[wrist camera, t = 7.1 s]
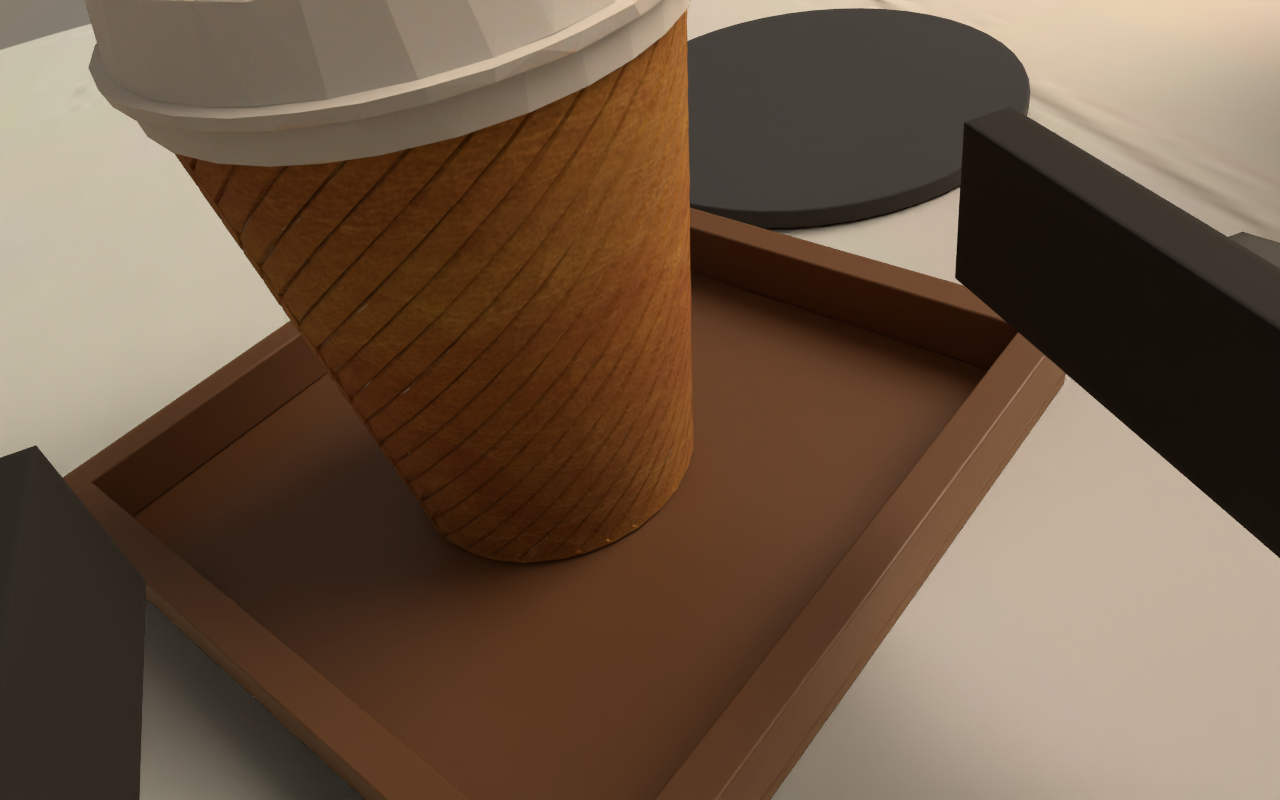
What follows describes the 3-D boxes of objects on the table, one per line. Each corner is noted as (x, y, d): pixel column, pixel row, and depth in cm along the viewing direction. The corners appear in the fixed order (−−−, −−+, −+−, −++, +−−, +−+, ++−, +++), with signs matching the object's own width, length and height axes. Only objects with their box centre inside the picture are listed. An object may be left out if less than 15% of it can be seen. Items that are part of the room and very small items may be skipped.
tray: (87, 544, 23) (41, 490, 22) (537, 212, 31) (522, 158, 30) (611, 1026, 14) (584, 981, 13) (1064, 383, 22) (1075, 316, 21)
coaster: (515, 169, 34) (510, 153, 33) (751, 5, 41) (750, -10, 40) (887, 279, 26) (888, 259, 25) (1100, 52, 33) (1103, 34, 32)
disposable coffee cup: (267, 592, 21) (-115, 32, 13) (460, 312, 27) (284, -177, 19) (705, 673, 18) (554, -4, 10) (805, 334, 24) (764, -240, 16)
